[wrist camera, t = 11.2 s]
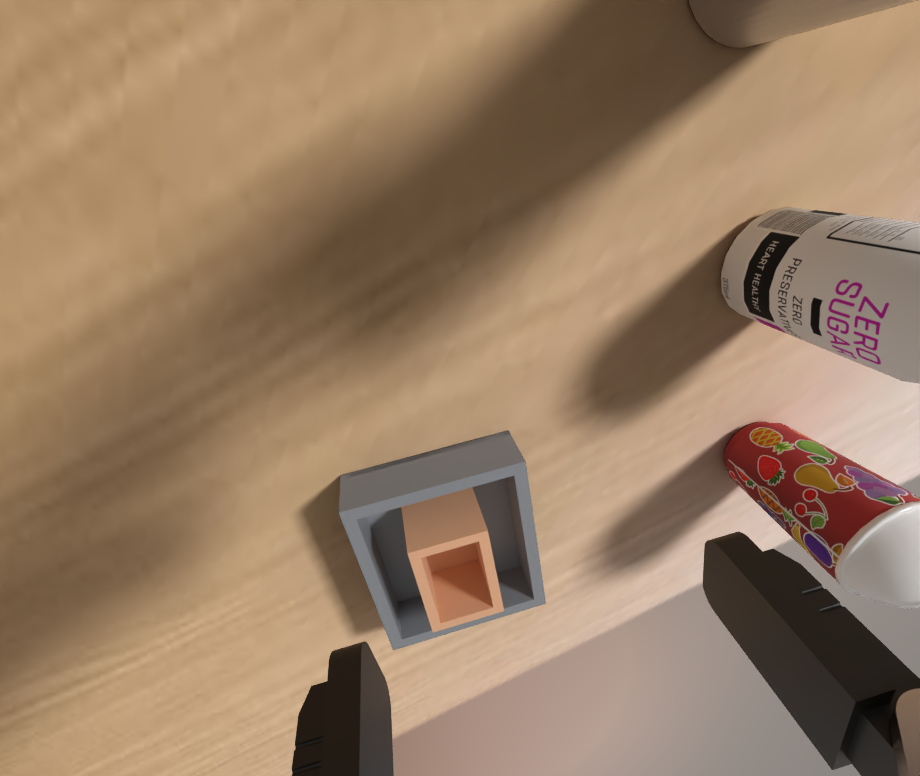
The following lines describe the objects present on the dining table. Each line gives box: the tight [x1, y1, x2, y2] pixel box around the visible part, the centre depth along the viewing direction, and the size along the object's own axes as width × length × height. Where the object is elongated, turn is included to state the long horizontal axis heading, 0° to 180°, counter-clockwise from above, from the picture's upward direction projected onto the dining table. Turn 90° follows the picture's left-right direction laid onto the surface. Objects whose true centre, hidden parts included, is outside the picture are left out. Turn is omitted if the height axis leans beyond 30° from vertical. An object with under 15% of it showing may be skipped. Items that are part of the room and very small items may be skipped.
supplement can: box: [721, 207, 920, 383], centre depth 30 cm, size 8×8×15 cm
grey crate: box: [339, 431, 546, 650], centre depth 40 cm, size 14×16×4 cm
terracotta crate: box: [401, 487, 504, 632], centre depth 39 cm, size 6×9×6 cm, turn 10°
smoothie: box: [724, 422, 920, 608], centre depth 37 cm, size 8×8×20 cm
